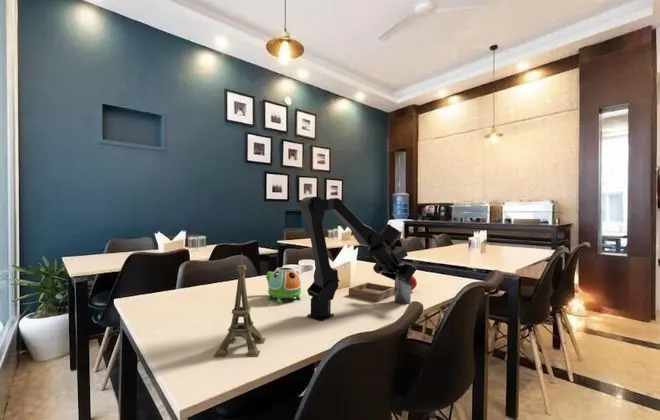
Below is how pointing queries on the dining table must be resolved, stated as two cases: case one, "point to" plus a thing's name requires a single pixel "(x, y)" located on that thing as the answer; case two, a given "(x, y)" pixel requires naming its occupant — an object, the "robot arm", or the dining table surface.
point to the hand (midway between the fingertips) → (405, 282)
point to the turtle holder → (283, 284)
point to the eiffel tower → (241, 328)
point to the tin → (402, 291)
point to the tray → (372, 291)
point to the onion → (413, 283)
